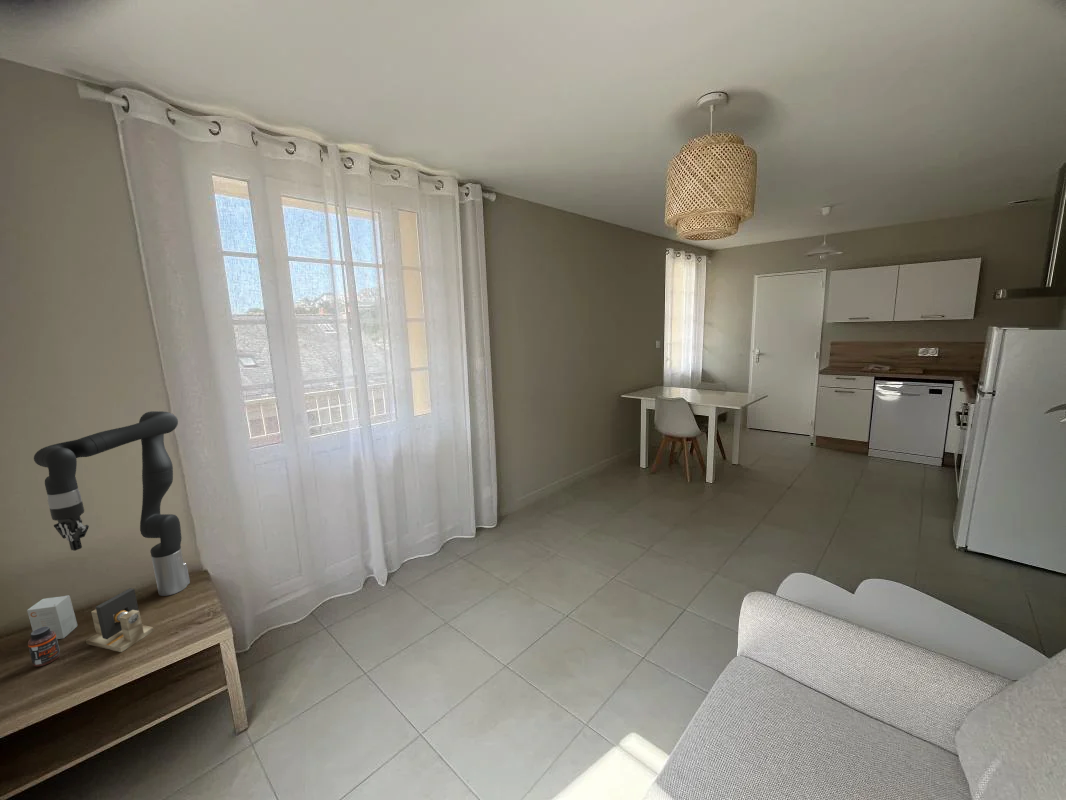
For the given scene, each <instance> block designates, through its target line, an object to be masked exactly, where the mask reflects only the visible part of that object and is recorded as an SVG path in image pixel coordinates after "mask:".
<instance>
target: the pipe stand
mask: <svg viewBox="0 0 1066 800" xmlns="http://www.w3.org/2000/svg"><path fill="white" fill-rule="evenodd" d="M91 616H92V621H93V627H94V630H95V634H94V635H92V636H91V637H89V638H87V639H86V640H85V642H86V645H90V646H94V647H96V648H101V649H106V650H111V651H114V652H119V653H122V652H124V651H125V650H127V649H129V648H130V647H131V646H133V645H135V644H136V643H138V642H140V641H141V640H142V639H144V638H145V637H147V636H148V635H150V634H151V633H154V631H155V629H154V627H153V626H148V625H146V624H145V625H144V624H143V623H142V619H141V618H142V617H141V613H140V610H139V611H137V610H131V611H130V612H127V611H125V610H124V609H123V610H121V611H119V612H117V613H116V614H114V615H113V618H114V622H115V623H116V622H120V623H121V628H122V630H121V631H120V632H118V633H117V634H115V635H113V636H112V637H110V638H108V639H104V638H103V637H102V633H101V628H100V624H99V620H98V615H97V611H96V608H95V609H94V610H92V611H91Z"/></svg>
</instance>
